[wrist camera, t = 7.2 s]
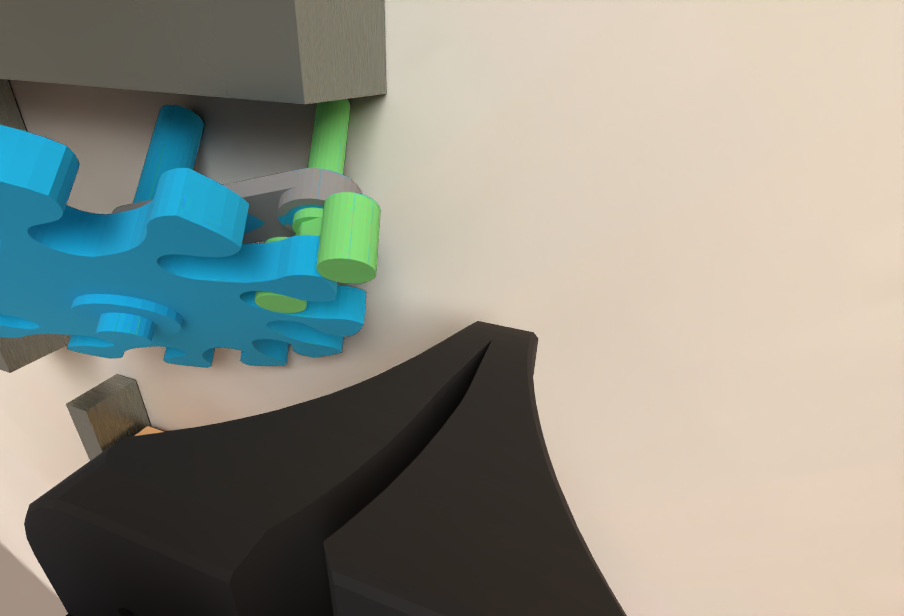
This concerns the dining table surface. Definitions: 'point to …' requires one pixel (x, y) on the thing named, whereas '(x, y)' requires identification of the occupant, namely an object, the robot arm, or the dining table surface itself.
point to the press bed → (181, 72)
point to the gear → (188, 251)
